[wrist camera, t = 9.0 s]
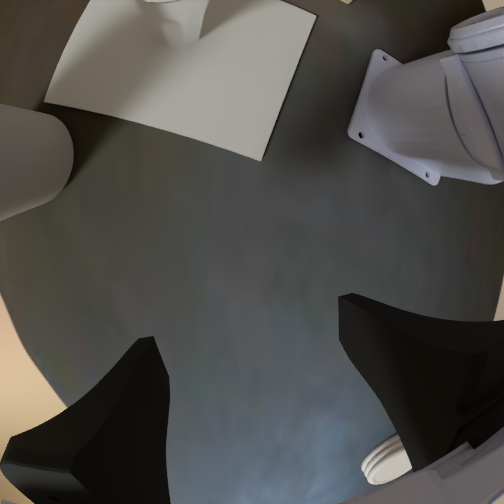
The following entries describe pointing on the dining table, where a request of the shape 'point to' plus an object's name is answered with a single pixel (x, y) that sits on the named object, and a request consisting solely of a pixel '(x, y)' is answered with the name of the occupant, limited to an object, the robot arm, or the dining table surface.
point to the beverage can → (31, 159)
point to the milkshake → (175, 20)
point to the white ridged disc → (386, 461)
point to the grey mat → (186, 70)
